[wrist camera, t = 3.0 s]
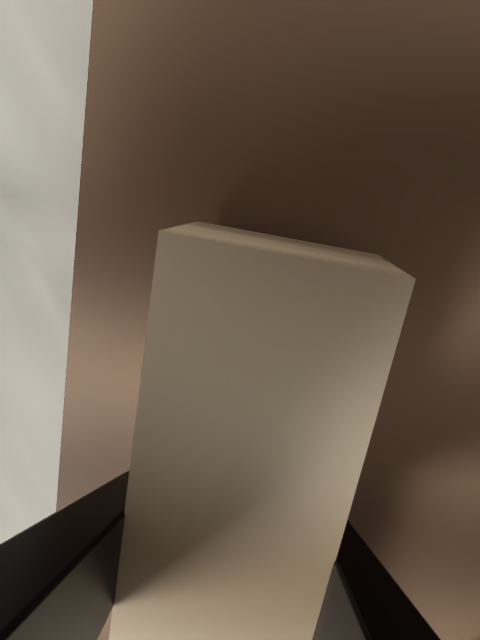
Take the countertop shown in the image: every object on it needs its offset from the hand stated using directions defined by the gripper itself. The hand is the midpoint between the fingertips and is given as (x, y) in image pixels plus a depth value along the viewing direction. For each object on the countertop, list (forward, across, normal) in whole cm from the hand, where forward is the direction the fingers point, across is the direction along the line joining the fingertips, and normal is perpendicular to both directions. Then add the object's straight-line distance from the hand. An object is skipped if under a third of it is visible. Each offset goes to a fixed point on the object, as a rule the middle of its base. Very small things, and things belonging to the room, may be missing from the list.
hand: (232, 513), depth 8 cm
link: (+1, 0, +3) cm, 4 cm away
